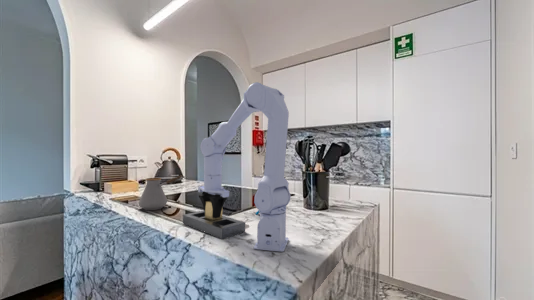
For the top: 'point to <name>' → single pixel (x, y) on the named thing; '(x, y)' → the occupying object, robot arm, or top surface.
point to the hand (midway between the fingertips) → (212, 216)
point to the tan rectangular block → (210, 212)
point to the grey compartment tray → (215, 225)
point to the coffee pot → (154, 194)
